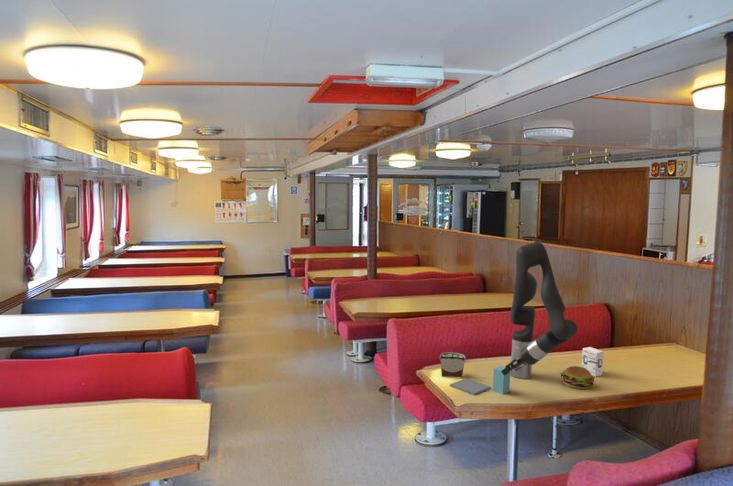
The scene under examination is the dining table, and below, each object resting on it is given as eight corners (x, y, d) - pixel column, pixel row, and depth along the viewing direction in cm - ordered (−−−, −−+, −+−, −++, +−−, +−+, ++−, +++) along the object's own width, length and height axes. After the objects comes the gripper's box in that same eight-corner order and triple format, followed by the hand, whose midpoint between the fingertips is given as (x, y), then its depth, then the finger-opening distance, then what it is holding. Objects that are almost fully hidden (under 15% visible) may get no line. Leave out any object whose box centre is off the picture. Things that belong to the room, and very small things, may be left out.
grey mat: (466, 379, 230) (466, 378, 230) (490, 388, 221) (490, 386, 221) (449, 386, 222) (449, 384, 222) (474, 395, 213) (474, 393, 213)
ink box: (580, 371, 246) (582, 347, 245) (587, 369, 248) (589, 346, 247) (595, 377, 238) (596, 352, 237) (602, 375, 241) (604, 351, 239)
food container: (464, 373, 239) (465, 352, 238) (465, 377, 233) (466, 356, 232) (437, 371, 240) (438, 351, 239) (438, 376, 234) (439, 355, 233)
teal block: (499, 388, 222) (500, 365, 221) (509, 391, 218) (510, 368, 217) (492, 390, 218) (493, 368, 217) (502, 394, 215) (504, 371, 214)
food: (574, 377, 238) (575, 360, 237) (599, 387, 225) (601, 370, 225) (552, 381, 232) (553, 364, 231) (578, 392, 219) (579, 374, 218)
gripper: (538, 340, 212) (512, 360, 221) (520, 346, 202) (494, 366, 212) (549, 355, 208) (522, 375, 218) (531, 362, 199) (504, 382, 208)
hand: (508, 371), depth 215 cm, fingers open, 8 cm apart
